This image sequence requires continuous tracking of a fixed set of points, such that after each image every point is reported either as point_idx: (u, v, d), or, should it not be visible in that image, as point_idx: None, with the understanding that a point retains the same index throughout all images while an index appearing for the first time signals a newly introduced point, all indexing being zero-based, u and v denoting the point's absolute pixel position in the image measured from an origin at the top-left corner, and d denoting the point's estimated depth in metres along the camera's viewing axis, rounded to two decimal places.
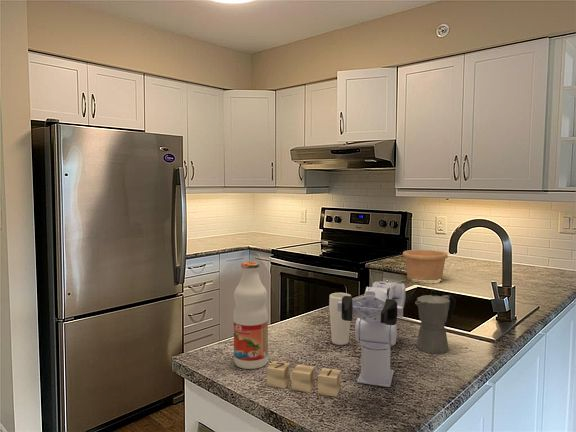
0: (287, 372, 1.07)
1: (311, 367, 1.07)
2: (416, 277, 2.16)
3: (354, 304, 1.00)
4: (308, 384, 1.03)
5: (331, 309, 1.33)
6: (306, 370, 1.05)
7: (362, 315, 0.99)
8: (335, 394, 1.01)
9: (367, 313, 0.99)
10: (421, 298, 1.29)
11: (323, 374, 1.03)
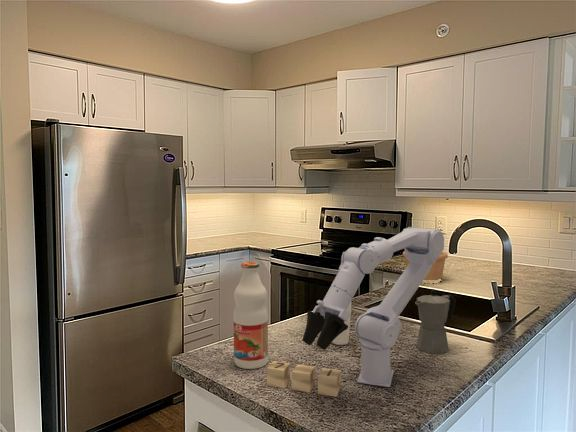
0: (287, 372, 1.07)
1: (311, 367, 1.07)
2: None
3: None
4: (308, 384, 1.03)
5: None
6: (306, 370, 1.05)
7: None
8: (335, 394, 1.01)
9: None
10: (421, 298, 1.29)
11: (323, 374, 1.03)
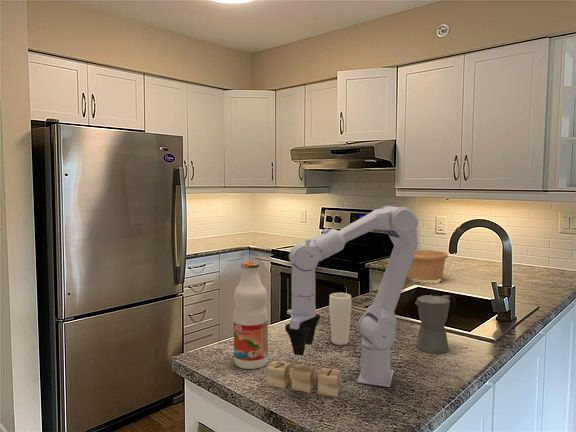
0: (287, 372, 1.07)
1: (311, 367, 1.07)
2: (416, 277, 2.16)
3: None
4: (308, 384, 1.03)
5: (331, 309, 1.33)
6: (306, 370, 1.05)
7: None
8: (335, 394, 1.01)
9: None
10: (421, 298, 1.29)
11: (323, 374, 1.03)
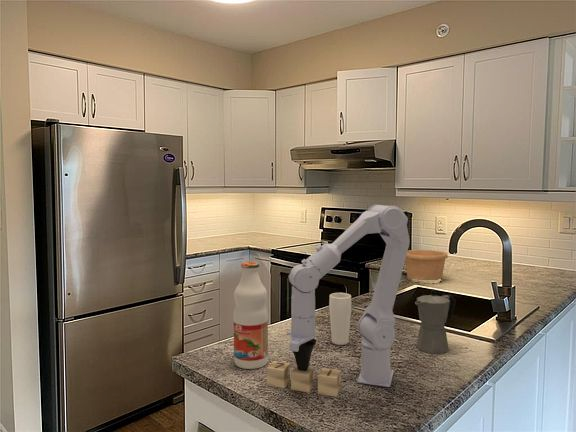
0: (287, 372, 1.07)
1: (311, 367, 1.07)
2: (416, 277, 2.16)
3: None
4: (307, 384, 1.03)
5: (331, 309, 1.33)
6: None
7: None
8: (335, 394, 1.01)
9: None
10: (421, 298, 1.29)
11: (323, 374, 1.03)
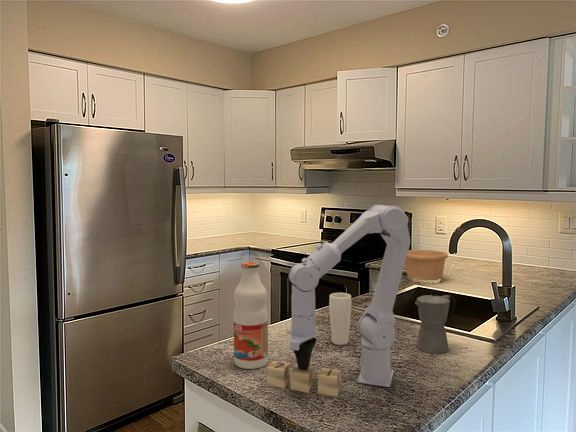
0: (287, 372, 1.07)
1: (310, 367, 1.06)
2: (416, 277, 2.16)
3: None
4: (307, 384, 1.03)
5: (331, 309, 1.33)
6: (304, 370, 1.05)
7: None
8: (335, 394, 1.01)
9: None
10: (421, 298, 1.29)
11: (323, 374, 1.03)
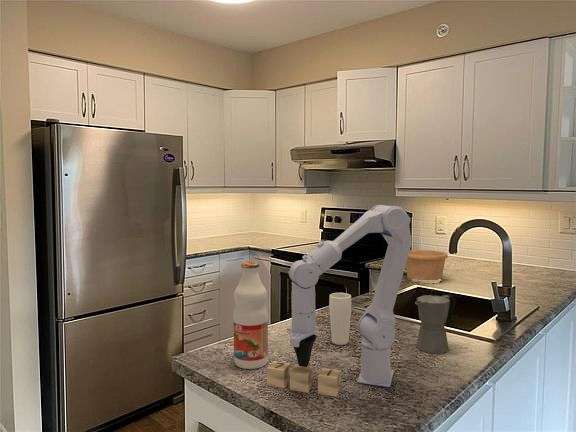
0: (287, 372, 1.07)
1: (309, 367, 1.06)
2: (416, 277, 2.16)
3: None
4: (306, 384, 1.03)
5: (331, 309, 1.33)
6: (304, 370, 1.05)
7: None
8: (335, 394, 1.01)
9: None
10: (421, 298, 1.29)
11: (323, 374, 1.03)
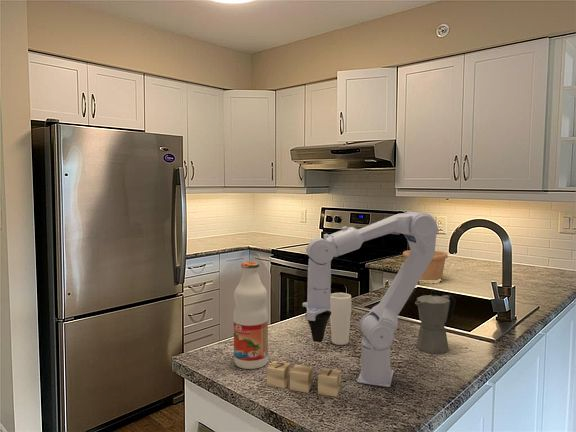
0: (287, 372, 1.07)
1: (309, 367, 1.06)
2: None
3: None
4: (306, 384, 1.03)
5: (331, 309, 1.33)
6: (304, 370, 1.05)
7: None
8: (335, 394, 1.01)
9: None
10: (421, 298, 1.29)
11: (323, 374, 1.03)
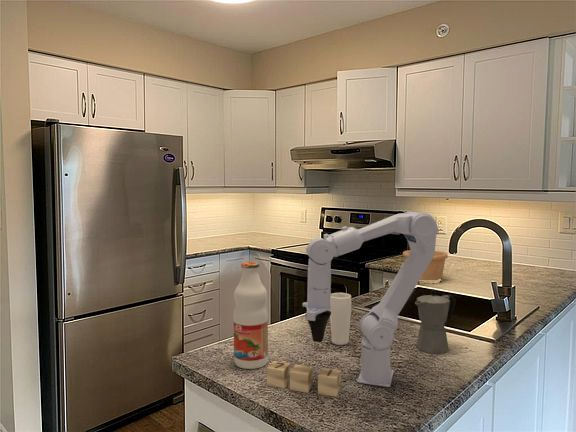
0: (287, 372, 1.07)
1: (309, 367, 1.06)
2: None
3: None
4: (306, 384, 1.03)
5: (331, 309, 1.33)
6: (304, 370, 1.05)
7: None
8: (335, 394, 1.01)
9: None
10: (421, 298, 1.29)
11: (323, 374, 1.03)
